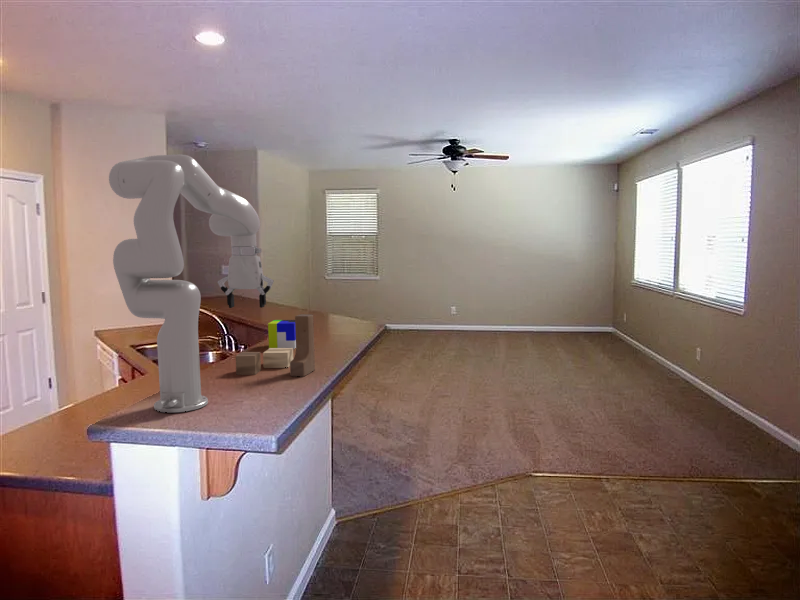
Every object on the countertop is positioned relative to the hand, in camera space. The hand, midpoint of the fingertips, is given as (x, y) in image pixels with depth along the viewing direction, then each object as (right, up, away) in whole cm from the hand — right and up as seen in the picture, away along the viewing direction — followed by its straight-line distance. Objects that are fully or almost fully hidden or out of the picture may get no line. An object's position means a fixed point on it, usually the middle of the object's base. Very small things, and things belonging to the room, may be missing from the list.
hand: (246, 307), depth 173 cm
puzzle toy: (+3, -16, +44) cm, 47 cm away
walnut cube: (0, -21, +2) cm, 21 cm away
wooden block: (+18, -21, -1) cm, 27 cm away
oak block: (+7, -19, +11) cm, 24 cm away
